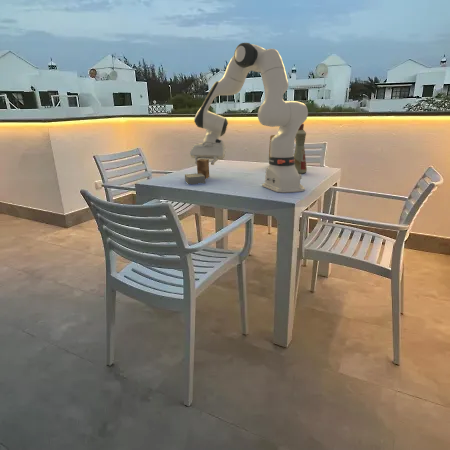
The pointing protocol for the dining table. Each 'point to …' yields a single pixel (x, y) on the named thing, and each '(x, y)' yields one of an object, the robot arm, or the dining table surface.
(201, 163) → the walnut block
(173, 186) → the dining table surface
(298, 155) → the bottle
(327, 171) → the dining table surface
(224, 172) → the dining table surface
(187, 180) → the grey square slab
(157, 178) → the dining table surface
